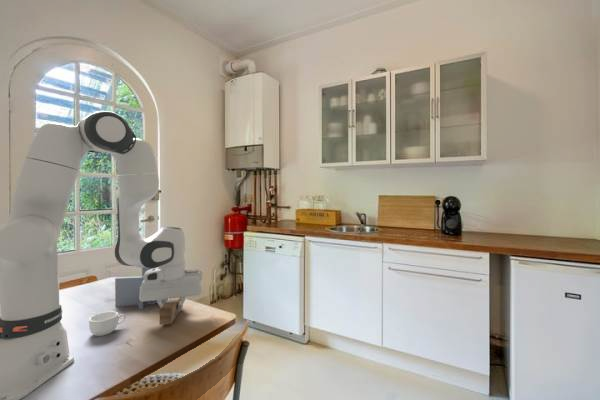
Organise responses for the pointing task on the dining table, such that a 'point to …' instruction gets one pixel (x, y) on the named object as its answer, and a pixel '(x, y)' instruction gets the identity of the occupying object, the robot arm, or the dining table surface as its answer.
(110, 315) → the teacup
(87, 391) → the dining table surface
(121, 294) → the stepped grey building model
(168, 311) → the wooden block
